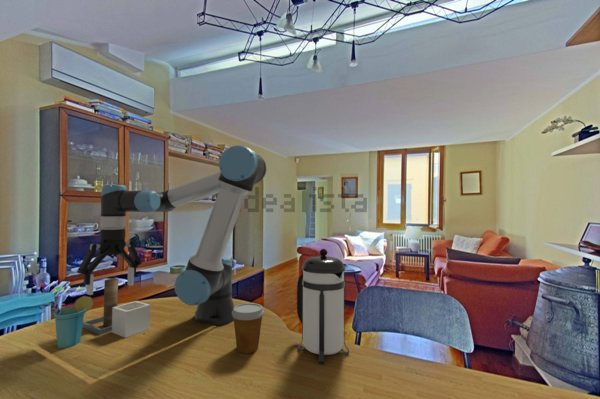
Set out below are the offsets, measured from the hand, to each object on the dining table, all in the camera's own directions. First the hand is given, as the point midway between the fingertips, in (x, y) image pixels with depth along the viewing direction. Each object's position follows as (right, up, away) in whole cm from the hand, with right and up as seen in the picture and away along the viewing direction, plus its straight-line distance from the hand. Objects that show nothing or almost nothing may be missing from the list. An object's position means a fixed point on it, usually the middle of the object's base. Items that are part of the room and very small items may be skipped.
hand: (111, 289), depth 101 cm
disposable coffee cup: (+51, -13, -15) cm, 54 cm away
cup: (-3, -13, -16) cm, 21 cm away
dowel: (0, -13, 0) cm, 13 cm away
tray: (0, -13, 0) cm, 13 cm away
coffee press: (+72, -13, -16) cm, 75 cm away
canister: (+10, -13, -5) cm, 17 cm away
